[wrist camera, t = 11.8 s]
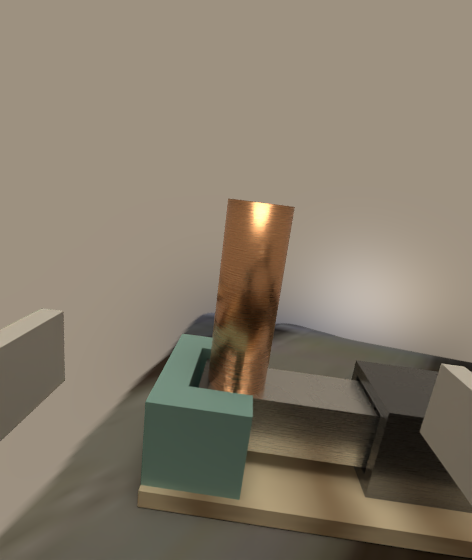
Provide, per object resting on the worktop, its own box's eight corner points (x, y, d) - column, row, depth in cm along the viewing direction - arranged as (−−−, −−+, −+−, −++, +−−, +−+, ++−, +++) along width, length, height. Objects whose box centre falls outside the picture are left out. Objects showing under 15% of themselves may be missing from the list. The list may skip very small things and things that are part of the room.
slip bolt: (387, 431, 25) (446, 226, 21) (412, 476, 21) (492, 232, 17) (202, 404, 25) (225, 198, 21) (192, 443, 21) (217, 197, 17)
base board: (455, 442, 28) (459, 431, 28) (561, 571, 18) (569, 556, 18) (177, 402, 28) (178, 391, 28) (137, 506, 19) (138, 490, 19)
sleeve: (473, 448, 26) (499, 380, 24) (540, 523, 20) (580, 440, 18) (339, 428, 26) (356, 360, 24) (365, 497, 20) (389, 412, 18)
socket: (244, 403, 28) (253, 343, 26) (239, 499, 19) (252, 417, 17) (177, 393, 28) (182, 333, 26) (140, 484, 19) (145, 401, 17)
